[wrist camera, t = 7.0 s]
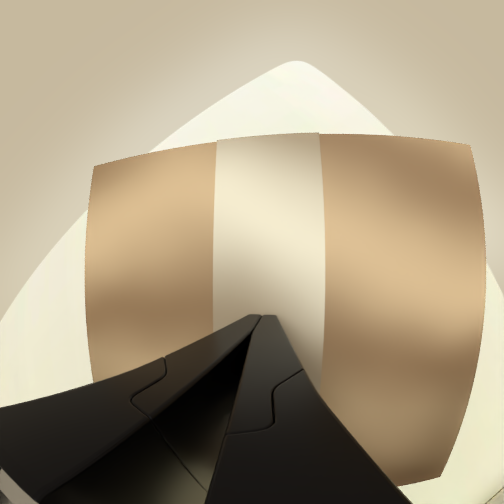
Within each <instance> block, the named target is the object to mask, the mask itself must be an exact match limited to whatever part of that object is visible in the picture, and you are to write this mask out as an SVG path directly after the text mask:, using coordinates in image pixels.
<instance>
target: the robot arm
mask: <svg viewBox="0 0 504 504" xmlns="http://www.w3.org/2000/svg"><path fill="white" fill-rule="evenodd" d="M0 504H413V503H412V502H411V501H410V500H409V499H408V498H407V497H406V496H405V495H404V494H403V493H402V492H401V490H400V489H399V488H398V487H397V486H396V485H395V484H394V483H393V482H392V480H391V479H390V478H389V477H388V476H387V475H386V474H385V473H384V471H383V470H382V469H381V468H380V467H379V466H378V465H377V463H376V462H375V461H374V460H373V459H372V458H371V457H370V455H369V454H368V453H367V452H366V451H365V450H364V448H363V447H362V446H361V445H360V444H359V443H358V441H357V440H356V439H355V438H354V437H353V435H352V434H351V433H350V432H349V431H348V429H347V428H346V427H345V426H344V425H343V423H342V422H341V421H340V420H339V419H338V417H337V416H336V415H335V414H334V413H333V411H332V410H331V409H330V408H329V406H328V405H327V404H326V402H325V401H324V400H323V398H322V397H321V396H320V394H319V393H318V391H317V390H316V388H315V386H314V385H313V383H312V381H311V380H310V378H309V376H308V374H307V372H306V371H305V369H304V367H303V365H302V363H301V362H300V360H299V358H298V356H297V354H296V352H295V350H294V348H293V346H292V344H291V342H290V340H289V339H288V337H287V335H286V333H285V331H284V329H283V327H282V325H281V323H280V321H279V319H278V317H277V316H276V315H263V316H262V315H260V314H248V315H247V316H245V317H243V318H241V319H239V320H237V321H235V322H233V323H231V324H229V325H227V326H225V327H223V328H221V329H219V330H217V331H215V332H213V333H211V334H209V335H207V336H205V337H203V338H201V339H199V340H197V341H195V342H193V343H191V344H189V345H187V346H185V347H183V348H181V349H179V350H177V351H174V352H172V353H170V354H168V355H166V356H165V358H164V357H160V358H158V359H156V360H154V361H152V362H150V363H147V364H145V365H142V366H140V367H138V368H135V369H133V370H130V371H127V372H124V373H122V374H119V375H116V376H113V377H110V378H107V379H104V380H101V381H98V382H95V383H91V384H88V385H85V386H82V387H78V388H75V389H72V390H68V391H65V392H61V393H58V394H54V395H50V396H47V397H43V398H39V399H35V400H31V401H27V402H23V403H19V404H15V405H10V406H6V407H1V408H0Z"/></svg>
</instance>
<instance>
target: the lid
mask: <svg viewBox="0 0 504 504" xmlns="http://www.w3.org/2000/svg"><path fill="white" fill-rule="evenodd" d="M485 249H486V248H485V232H484V220H483V212H482V203H481V197H480V190H479V184H478V180H477V174H476V169H475V164H474V160H473V155H472V151H471V147H470V145H466V144H460V143H454V142H446V141H439V140H431V139H422V138H412V137H401V136H386V135H364V134H319V133H293V134H276V135H262V136H251V137H241V138H232V139H223V140H217V142H212V143H205V144H198V145H191V146H185V147H179V148H173V149H168V150H163V151H157V152H152V153H148V154H143V155H138V156H134V157H129V158H125V159H121V160H117V161H113V162H109V163H105V164H101V165H97V166H94V170H93V176H92V183H91V190H90V199H89V207H88V217H87V229H86V246H85V307H86V324H87V336H88V346H89V355H90V362H91V370H92V376H93V382H94V383H95V382H98V381H101V380H104V379H107V378H110V377H113V376H116V375H119V374H122V373H124V372H127V371H130V370H133V369H135V368H138V367H140V366H142V365H145V364H147V363H150V362H152V361H154V360H156V359H158V358H160V357H164V358H165V356H166V355H168V354H170V353H172V352H174V351H177V350H179V349H181V348H183V347H185V346H187V345H189V344H191V343H193V342H195V341H197V340H199V339H201V338H203V337H205V336H207V335H209V334H211V333H213V332H215V331H217V330H219V329H221V328H223V327H225V326H227V325H229V324H231V323H233V322H235V321H237V320H239V319H241V318H243V317H245V316H247V315H248V314H260V315H262V316H263V315H276V316H277V317H278V319H279V321H280V323H281V325H282V327H283V329H284V331H285V333H286V335H287V337H288V339H289V340H290V342H291V344H292V346H293V348H294V350H295V352H296V354H297V356H298V358H299V360H300V362H301V363H302V365H303V367H304V369H305V371H306V372H307V374H308V376H309V378H310V380H311V381H312V383H313V385H314V386H315V388H316V390H317V391H318V393H319V394H320V396H321V397H322V398H323V400H324V401H325V402H326V404H327V405H328V406H329V408H330V409H331V410H332V411H333V413H334V414H335V415H336V416H337V417H338V419H339V420H340V421H341V422H342V423H343V425H344V426H345V427H346V428H347V429H348V431H349V432H350V433H351V434H352V435H353V437H354V438H355V439H356V440H357V441H358V443H359V444H360V445H361V446H362V447H363V448H364V450H365V451H366V452H367V453H368V454H369V455H370V457H371V458H372V459H373V460H374V461H375V462H376V463H377V465H378V466H379V467H380V468H381V469H382V470H383V471H384V473H385V474H386V475H387V476H388V477H389V478H390V479H391V480H392V482H393V483H394V484H395V485H396V486H403V485H408V484H413V483H417V482H422V481H426V480H430V479H434V478H437V477H440V476H441V474H442V472H443V470H444V468H445V465H446V463H447V461H448V458H449V456H450V454H451V451H452V449H453V446H454V444H455V441H456V438H457V436H458V433H459V430H460V427H461V424H462V421H463V418H464V415H465V412H466V408H467V405H468V401H469V398H470V394H471V390H472V386H473V382H474V377H475V373H476V368H477V363H478V357H479V351H480V345H481V338H482V330H483V321H484V310H485V294H486V250H485Z"/></svg>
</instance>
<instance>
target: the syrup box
mask: <svg viewBox="0 0 504 504" xmlns="http://www.w3.org/2000/svg"><path fill="white" fill-rule="evenodd" d="M486 504H504V488H503V489H502V490H501V491H500V492H499V493H497V494H496V495H495V496H494V497H493V498H492V499H491V500H489V501H488V502H487V503H486Z"/></svg>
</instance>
